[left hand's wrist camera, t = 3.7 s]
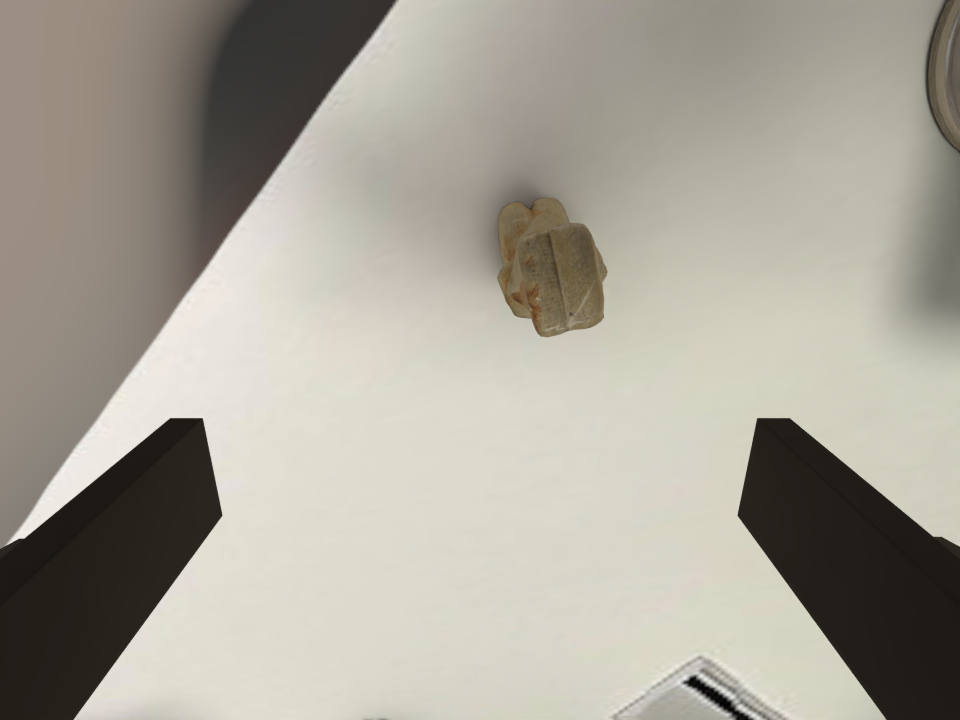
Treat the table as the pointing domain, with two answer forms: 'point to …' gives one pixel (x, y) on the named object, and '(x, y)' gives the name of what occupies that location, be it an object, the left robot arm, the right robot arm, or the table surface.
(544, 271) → the sculpture
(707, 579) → the table surface
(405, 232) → the table surface
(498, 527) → the table surface
